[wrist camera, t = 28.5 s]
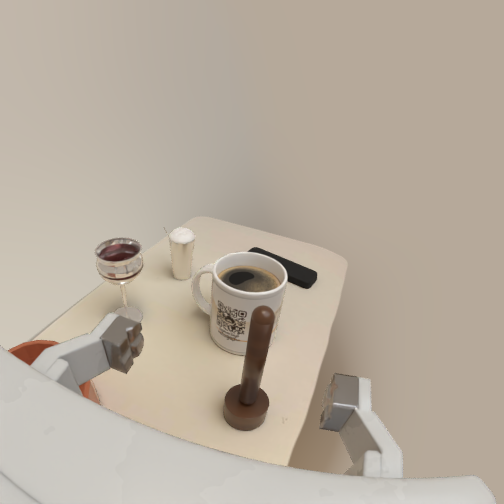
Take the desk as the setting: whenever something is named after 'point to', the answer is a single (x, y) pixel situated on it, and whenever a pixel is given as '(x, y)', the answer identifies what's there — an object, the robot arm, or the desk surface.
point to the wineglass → (121, 268)
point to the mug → (240, 296)
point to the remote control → (292, 269)
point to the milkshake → (181, 252)
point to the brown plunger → (251, 375)
